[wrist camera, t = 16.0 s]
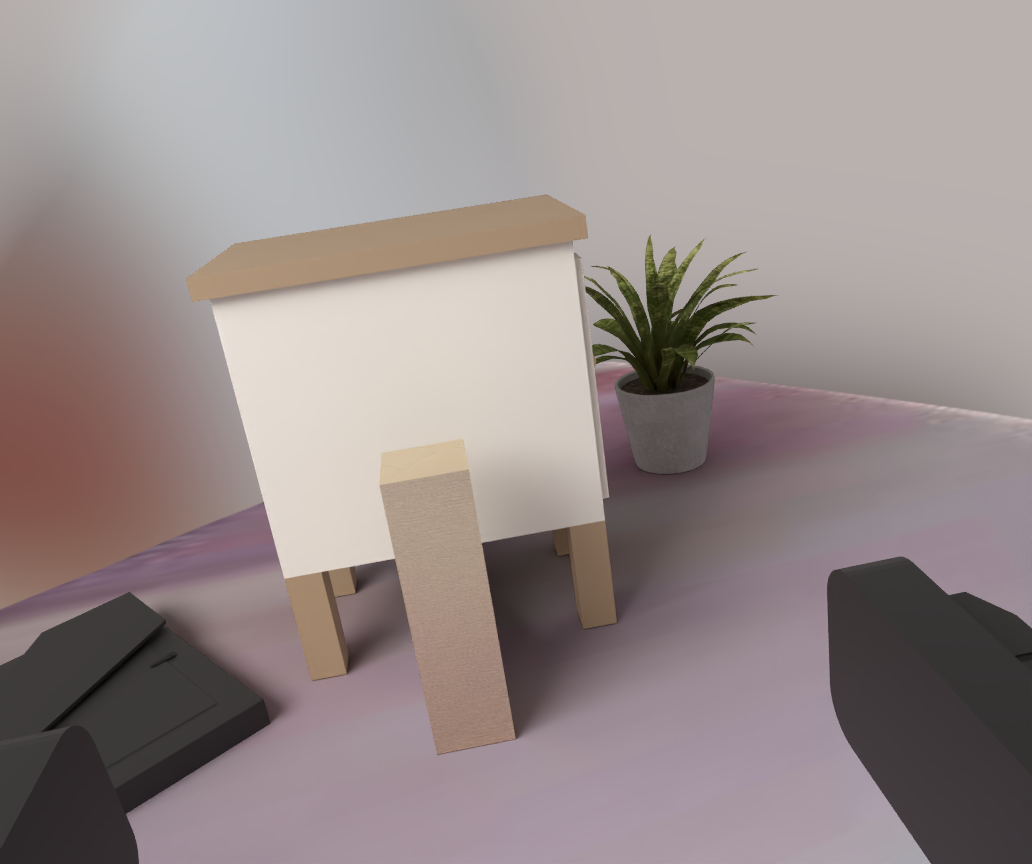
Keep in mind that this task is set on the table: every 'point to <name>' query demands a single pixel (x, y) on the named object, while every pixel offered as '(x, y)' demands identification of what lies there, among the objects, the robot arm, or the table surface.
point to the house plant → (666, 363)
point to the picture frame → (129, 697)
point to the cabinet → (415, 388)
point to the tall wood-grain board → (446, 593)
